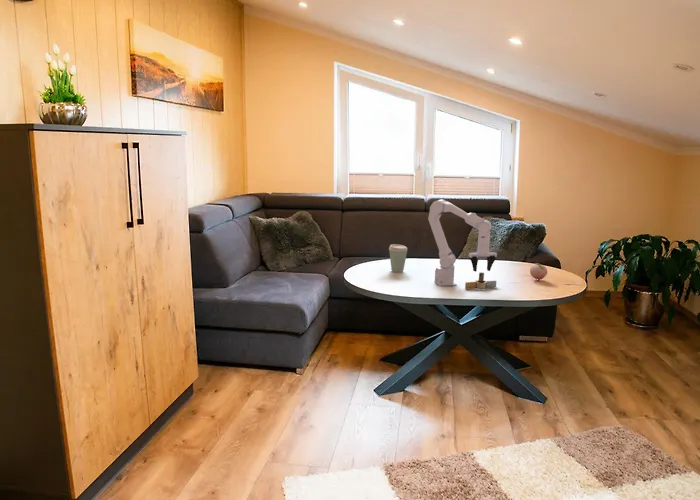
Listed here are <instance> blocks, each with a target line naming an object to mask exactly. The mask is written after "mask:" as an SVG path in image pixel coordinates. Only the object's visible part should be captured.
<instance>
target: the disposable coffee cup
mask: <svg viewBox="0 0 700 500" xmlns="http://www.w3.org/2000/svg"><path fill="white" fill-rule="evenodd" d="M388 251H389V261H390V269H391V272H392V273H397V274H398V273H400V274H401V273H403V271H404V270H405V263H406V259H407V254H408V247H407V246H405V245H403V244H395V243H393V244H390V245H389V247H388Z"/></svg>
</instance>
